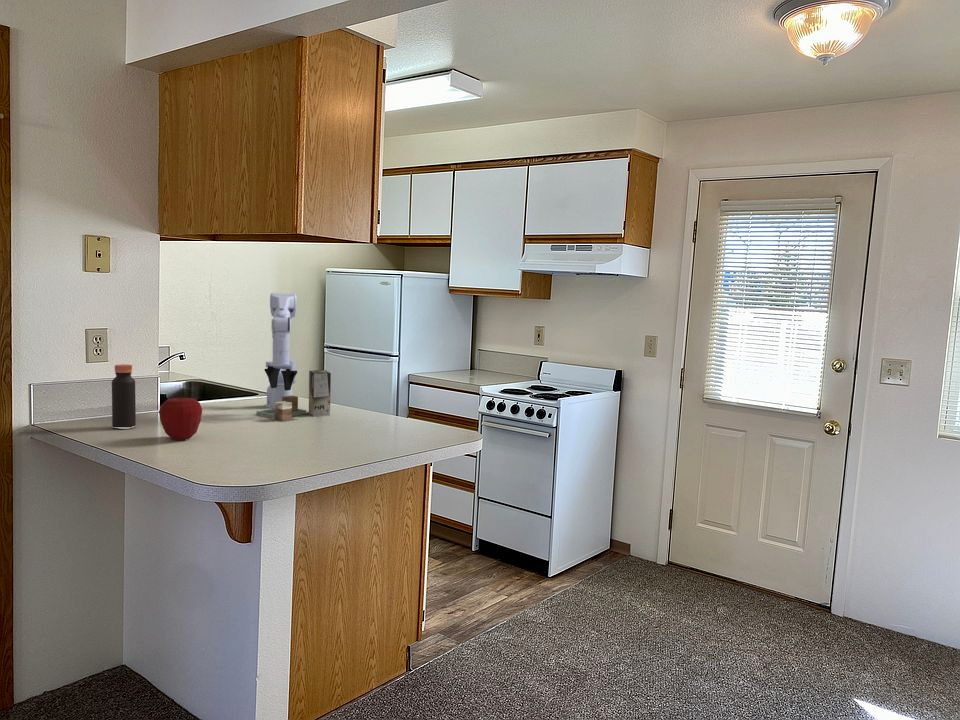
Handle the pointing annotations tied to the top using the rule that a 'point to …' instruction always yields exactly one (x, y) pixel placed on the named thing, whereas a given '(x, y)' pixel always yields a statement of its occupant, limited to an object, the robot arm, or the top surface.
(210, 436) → the top surface
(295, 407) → the plain block
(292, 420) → the mat
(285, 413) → the labelled block
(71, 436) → the top surface
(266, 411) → the tray
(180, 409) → the apple
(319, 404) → the coffee box
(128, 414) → the bottle
